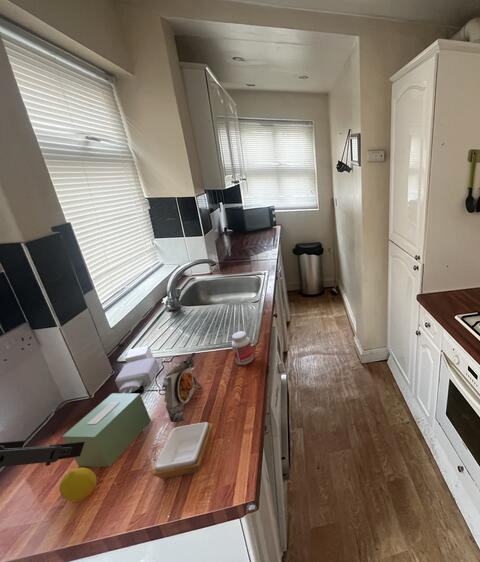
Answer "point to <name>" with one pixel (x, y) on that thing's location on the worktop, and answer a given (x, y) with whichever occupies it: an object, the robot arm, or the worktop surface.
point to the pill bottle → (242, 348)
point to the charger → (136, 374)
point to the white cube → (138, 354)
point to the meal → (179, 388)
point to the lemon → (78, 484)
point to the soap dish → (183, 450)
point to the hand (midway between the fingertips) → (50, 448)
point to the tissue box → (109, 429)
